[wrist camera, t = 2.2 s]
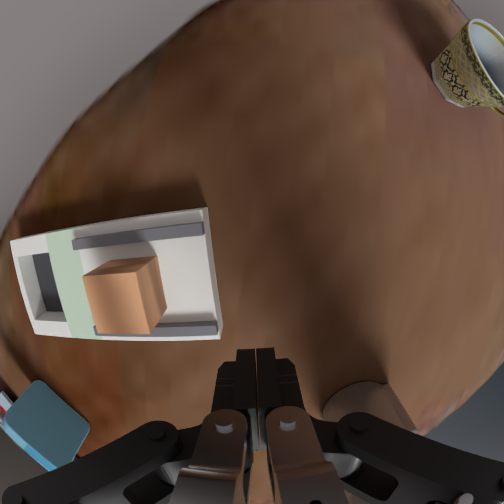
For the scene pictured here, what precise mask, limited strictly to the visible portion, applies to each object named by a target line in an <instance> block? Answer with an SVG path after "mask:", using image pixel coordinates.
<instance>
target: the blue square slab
mask: <svg viewBox="0 0 504 504" xmlns="http://www.w3.org/2000/svg"><path fill="white" fill-rule="evenodd" d="M2 425H3V429H4V430H5V432H6V433H7V434H8V435H9V436H10V437H11V438H12V439H13V440H14V441H15V442H16V443H17V444H18V445H20V446H21V447H22V448H23V449H24V450H25V451H26V452H27V453H29V454H30V455H31V456H32V457H33V458H34V459H36V460H37V461H38V462H39V463H40V464H42V465H43V466H44V467H45V468H47V469H48V470H49V471H52V470H54V469H57V468H59V467H61V466H63V465H66V464H68V463H70V462H72V461H73V459H74V457H75V455H76V454H77V452H78V450H79V448H80V446H81V445H82V443H83V441H84V439H85V438H86V436H87V434H88V432H89V430H90V427H89V424H88V422H87V421H86V420H85V419H84V418H83V417H82V416H80V415H79V414H78V413H77V412H76V411H75V410H73V409H72V408H71V407H70V406H69V405H68V404H67V403H65V402H64V401H63V400H62V399H61V398H60V397H59V396H58V395H57V394H56V393H55V392H54V391H53V390H52V389H51V388H50V387H49V386H48V385H47V384H46V383H44V382H43V381H41V380H36V381H34V382H33V383H32V384H31V385H30V386H29V387H28V388H27V389H26V390H25V391H24V392H23V394H22V395H21V396H20V397H19V398H18V399H17V400H16V401H15V402H14V404H13V405H12V406H11V407H10V408H9V409H8V410H7V411H6V413H5V415H4V418H3V422H2Z"/></svg>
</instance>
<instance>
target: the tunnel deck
mask: <svg viewBox="0 0 504 504" xmlns="http://www.w3.org/2000/svg"><path fill="white" fill-rule="evenodd" d="M10 244H11V249H12V254H13V259H14V264H15V268H16V273H17V277H18V281H19V284H20V288H21V292H22V295H23V299H24V302H25V305H26V309H27V312H28V315H29V318H30V321H31V323H32V326H33V329H34V332H35V334H39V335H49V336H59V337H71V338H85V339H102V340H132V341H179V340H210V339H220V337H221V332H222V327H223V321H222V315H221V308H220V301H219V294H218V287H217V280H216V272H215V265H214V257H213V249H212V241H211V232H210V224H209V215H208V207H204V208H195V209H187V210H179V211H171V212H164V213H156V214H149V215H142V216H135V217H129V218H122V219H116V220H110V221H104V222H98V223H92V224H86V225H81V226H75V227H70V228H65V229H59V230H54V231H49V232H44V233H39V234H35V235H30V236H25V237H22V238H19V239H15V240H12V241H10ZM148 256H157V257H158V262H159V268H160V274H161V279H162V285H163V290H164V295H165V300H166V304H167V309H166V311H165V312H164V314H163V315H162V317H161V318H160V320H159V322H158V323H157V325H156V326H155V328H154V329H153V331H152V332H151V334H102V333H98V332H97V329H96V326H95V322H94V319H93V316H92V312H91V309H90V305H89V302H88V298H87V294H86V291H85V287H84V283H83V278H82V276H83V275H85V274H87V273H88V272H90V271H92V270H94V269H95V268H97V267H99V266H101V265H102V264H104V263H106V262H108V261H109V260H117V259H128V258H138V257H148Z"/></svg>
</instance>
